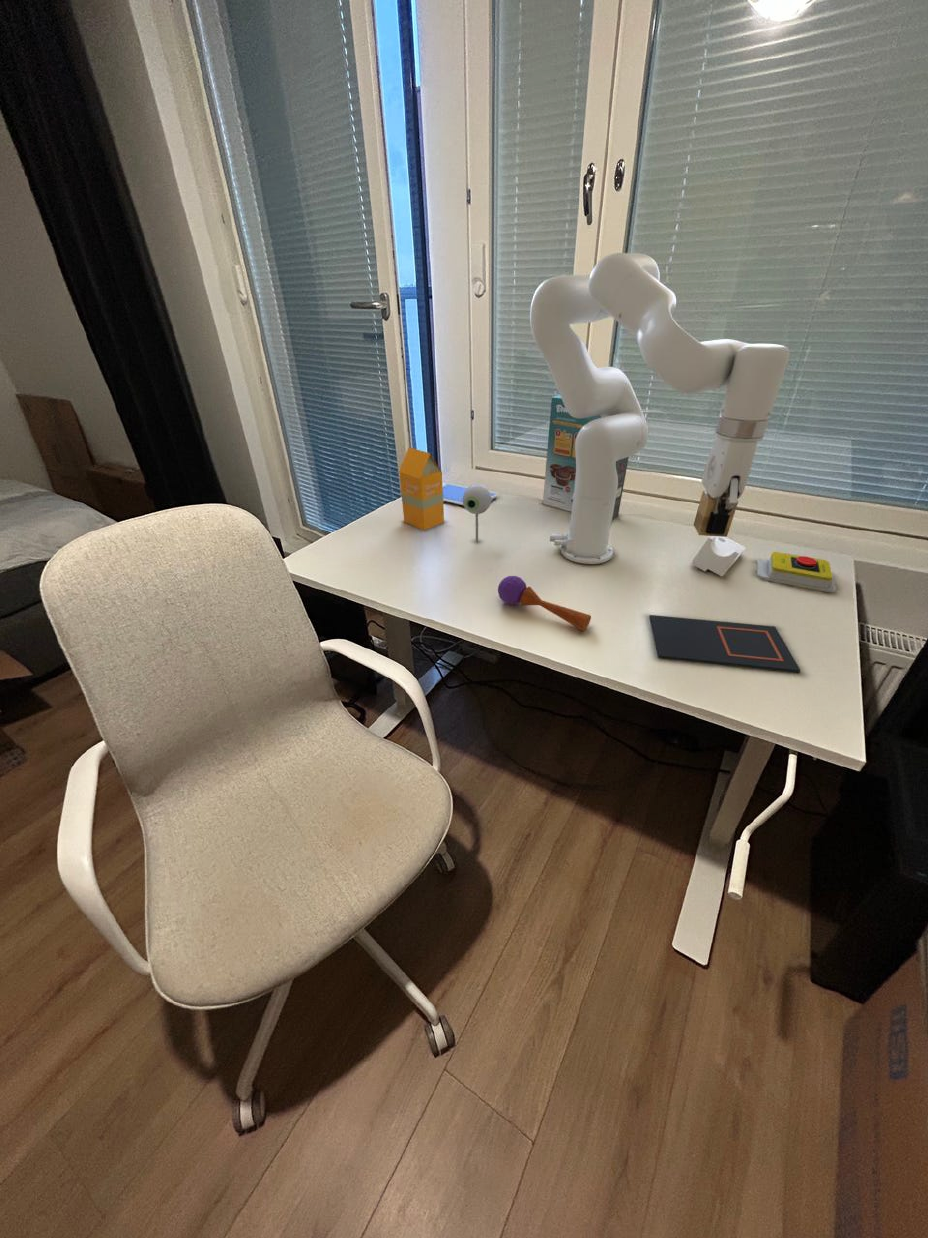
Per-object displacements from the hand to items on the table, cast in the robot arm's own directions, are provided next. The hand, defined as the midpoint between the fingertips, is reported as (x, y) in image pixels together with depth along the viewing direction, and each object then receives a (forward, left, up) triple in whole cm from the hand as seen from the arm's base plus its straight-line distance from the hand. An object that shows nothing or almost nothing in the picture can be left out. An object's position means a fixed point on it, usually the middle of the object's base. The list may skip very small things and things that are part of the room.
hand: (711, 526), depth 92 cm
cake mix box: (-23, +46, -17) cm, 54 cm away
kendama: (-31, -11, -17) cm, 36 cm away
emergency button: (+25, +14, -17) cm, 33 cm away
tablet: (-59, +50, -17) cm, 79 cm away
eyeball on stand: (-49, +20, -17) cm, 56 cm away
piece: (0, 0, -1) cm, 1 cm away
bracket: (+10, +18, -17) cm, 27 cm away
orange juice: (-66, +30, -17) cm, 74 cm away
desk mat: (+2, -15, -17) cm, 23 cm away
